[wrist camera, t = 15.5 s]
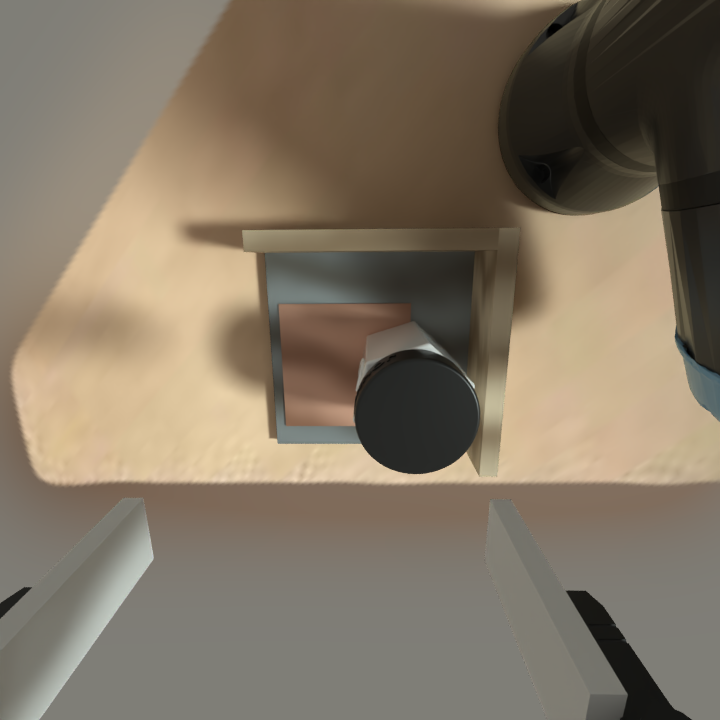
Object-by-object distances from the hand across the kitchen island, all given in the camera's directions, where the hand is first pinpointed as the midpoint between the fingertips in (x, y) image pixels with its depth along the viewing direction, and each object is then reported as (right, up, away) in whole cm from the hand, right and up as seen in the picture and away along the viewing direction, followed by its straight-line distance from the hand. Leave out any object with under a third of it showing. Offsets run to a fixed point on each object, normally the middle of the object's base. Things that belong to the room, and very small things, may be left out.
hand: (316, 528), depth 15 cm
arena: (+3, +8, +22) cm, 24 cm away
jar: (+6, +6, +22) cm, 23 cm away
